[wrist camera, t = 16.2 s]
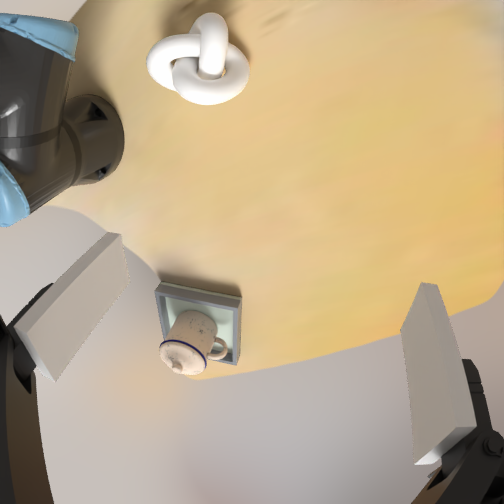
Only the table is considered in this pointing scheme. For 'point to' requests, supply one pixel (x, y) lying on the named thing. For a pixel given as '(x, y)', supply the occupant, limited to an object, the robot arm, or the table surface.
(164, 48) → the white knot sculpture
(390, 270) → the table surface
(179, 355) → the teacup with lid
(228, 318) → the tray
